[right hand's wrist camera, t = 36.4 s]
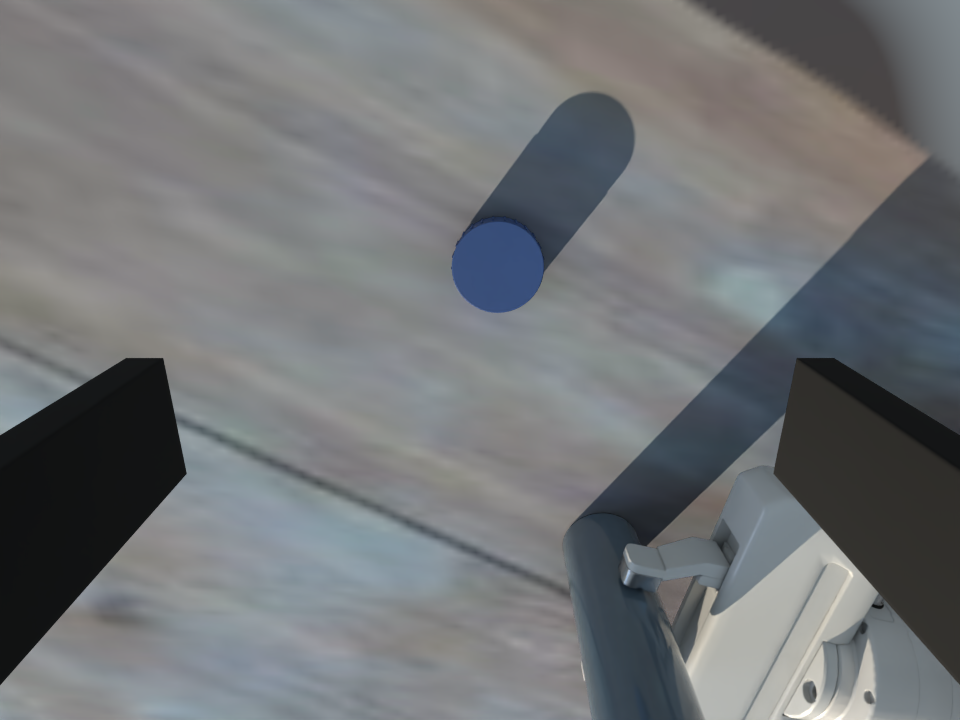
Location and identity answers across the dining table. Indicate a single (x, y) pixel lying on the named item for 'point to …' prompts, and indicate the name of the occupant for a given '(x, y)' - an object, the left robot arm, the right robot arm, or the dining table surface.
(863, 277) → the dining table surface
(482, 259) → the cap
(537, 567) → the dining table surface
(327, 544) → the dining table surface
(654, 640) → the bottle
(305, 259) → the dining table surface
